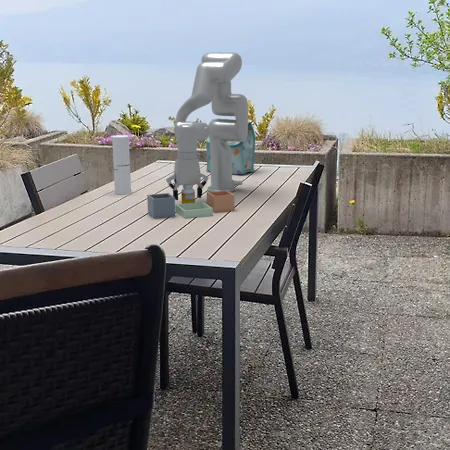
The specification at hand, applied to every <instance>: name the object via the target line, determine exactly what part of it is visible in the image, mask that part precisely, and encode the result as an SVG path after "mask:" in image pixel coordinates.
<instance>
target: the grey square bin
mask: <svg viewBox="0 0 450 450" xmlns="http://www.w3.org/2000/svg"><path fill="white" fill-rule="evenodd" d="M146 196H147V214H148V215H149V216H150V217H151V218H153V219H163V218H170V217H172V218H173V217H176V206H175V205H176V200H175V197H173V194H170V192H165V193H154V194H147V195H146Z"/></svg>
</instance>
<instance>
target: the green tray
mask: <svg viewBox="0 0 450 450" xmlns="http://www.w3.org/2000/svg"><path fill="white" fill-rule="evenodd" d="M175 213H176V214H178V215H180V216H181V217H182V218H183V219H192V218H194V219H195V218H202V217H203V218H204V217H213V215H214V212H213V208H211V207H210V206H208V205H207V203H205V202H204V201H199V202H195V203H187V204H182V203H180V204H179V203H178V204H176V203H175Z"/></svg>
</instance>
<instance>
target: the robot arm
mask: <svg viewBox="0 0 450 450" xmlns="http://www.w3.org/2000/svg"><path fill="white" fill-rule="evenodd" d="M242 66H243V60H242V56H241V55H240V54H239V53H237V52H220V51H219V52H207V53H205V54H203V55H202V57H201V62H200V63H199V64H198V66H197V67H196V71H195V75H194V76H195V77H194V82H193V87H192V92H191V94H190V97H188V99H187V100H186V101H184V102H183V104H182V105H181V106H180V108H178V111H177V113H176V117H175V121H174V125H173V126H174V127H173V133H174V136H175V138H176V139H177V141H176V142H177V158H175V161H174V168H173V174H172V175H170V176H169V177H167V178H166V179H165V181H166V182H167V184H168V187H170V188H171V189H172V196H173V197H175V201H179V190H178V188H179V187H180V186H183V185H192V184H193V185H197V187H196V196H197V198H198V199H202V196H203V189H204V187H205V186H206V184H207V182H208V180H209V177H210V185H209V186H208V187H206V188H207V192H216V191H228V192H230V193H232V192H235V191H236V190H237V189H236V186H242V185H243V180H234V179H233V174H232V150H231V147H230V146H229V144H228V143H227V141H231V142H242V141H244V140H246V138H247V134H248V122H249V103H248V99H247V97H246V95H244V94H241V93H232V82H231V81H232V80H233V79H234V78H236V76H237V74H239V73H240V71H241V69H242ZM209 104H211V111H212V113H213V114H214V115H216V116H218V117H220V116H221V117H234V118H235V119H232V118H231V119H229V118H219V119H218V118H214V119H215V120H212V119H211V120H212V121H209V123H205V122H202V121H200V122H199V121H187V120H188V118H189V116H190V115H191V114H192V113H193V112H195V111H197V110H198V109H200V108H203V107H205V106H207V105H209ZM208 137H209V140H210V156H211V172H210V176H208V175H206V174H203V173H201V165H200V161H199V158H198V157H199V156H201V152H198V151H197V146H198V145H197V143H198V142H203V141H206V139H207V138H208ZM202 178H203V180H202V181H201V179H202ZM172 180H173V183H174V184H173V183H172Z"/></svg>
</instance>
